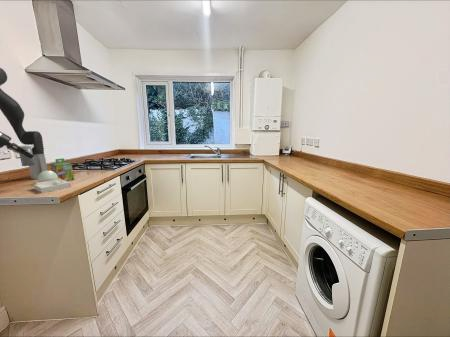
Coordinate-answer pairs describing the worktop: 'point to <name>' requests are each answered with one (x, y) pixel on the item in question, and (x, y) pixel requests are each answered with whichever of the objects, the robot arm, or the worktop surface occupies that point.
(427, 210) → the worktop surface
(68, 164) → the chalk box
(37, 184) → the white divided tray
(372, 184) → the worktop surface
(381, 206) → the worktop surface
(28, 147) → the grey domed cylinder
